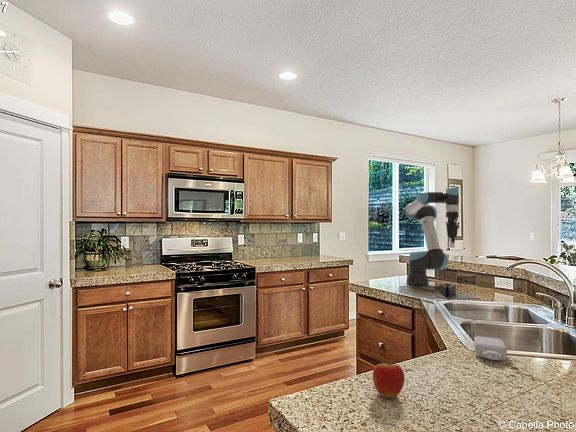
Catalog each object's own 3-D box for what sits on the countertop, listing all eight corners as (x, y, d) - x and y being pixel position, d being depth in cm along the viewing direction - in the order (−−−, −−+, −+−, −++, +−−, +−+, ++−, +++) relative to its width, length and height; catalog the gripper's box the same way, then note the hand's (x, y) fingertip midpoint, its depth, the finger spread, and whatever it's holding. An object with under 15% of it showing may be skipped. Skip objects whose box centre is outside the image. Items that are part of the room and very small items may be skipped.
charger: (477, 363, 121) (473, 348, 135) (509, 368, 117) (503, 352, 131) (477, 348, 121) (474, 335, 135) (509, 353, 117) (503, 339, 131)
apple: (370, 400, 95) (370, 361, 95) (374, 386, 103) (375, 350, 103) (403, 405, 92) (403, 365, 92) (405, 391, 100) (405, 354, 100)
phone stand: (440, 293, 232) (439, 296, 221) (440, 283, 232) (439, 286, 221) (455, 294, 228) (455, 298, 218) (455, 284, 228) (455, 288, 218)
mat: (433, 294, 228) (433, 294, 228) (468, 294, 230) (468, 294, 230) (443, 299, 216) (443, 298, 216) (479, 299, 218) (479, 298, 218)
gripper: (441, 211, 247) (441, 246, 247) (451, 211, 234) (451, 248, 234) (452, 211, 247) (452, 246, 247) (463, 211, 234) (462, 248, 234)
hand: (452, 247), depth 240 cm, fingers closed
